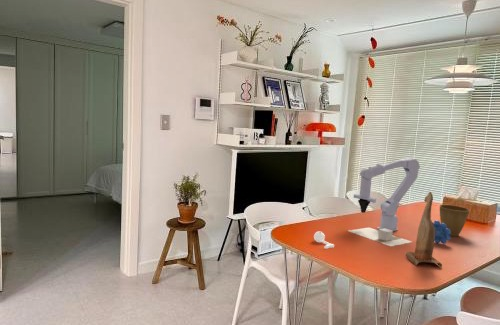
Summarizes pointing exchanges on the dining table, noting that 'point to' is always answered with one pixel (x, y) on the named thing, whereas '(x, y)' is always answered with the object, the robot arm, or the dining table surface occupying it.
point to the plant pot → (453, 218)
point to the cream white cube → (385, 234)
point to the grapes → (441, 232)
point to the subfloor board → (373, 235)
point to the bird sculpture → (424, 237)
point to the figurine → (322, 239)
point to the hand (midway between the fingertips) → (363, 212)
